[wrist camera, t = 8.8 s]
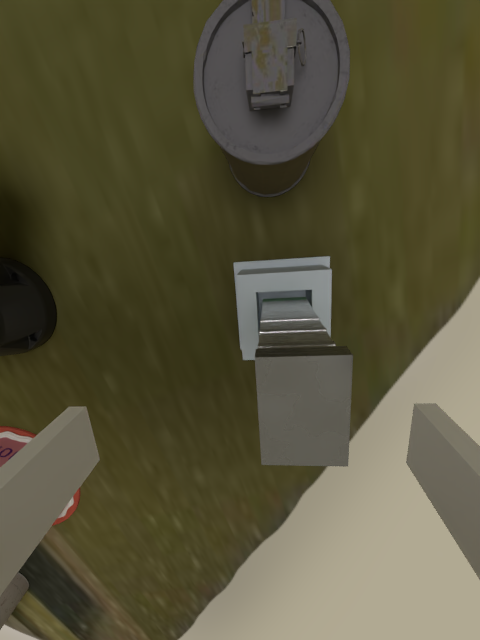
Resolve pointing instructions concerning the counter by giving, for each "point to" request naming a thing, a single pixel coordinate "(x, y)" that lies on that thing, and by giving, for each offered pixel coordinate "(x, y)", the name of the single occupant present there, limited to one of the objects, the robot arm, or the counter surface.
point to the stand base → (279, 292)
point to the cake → (10, 440)
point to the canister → (271, 86)
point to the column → (301, 387)
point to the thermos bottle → (12, 596)
